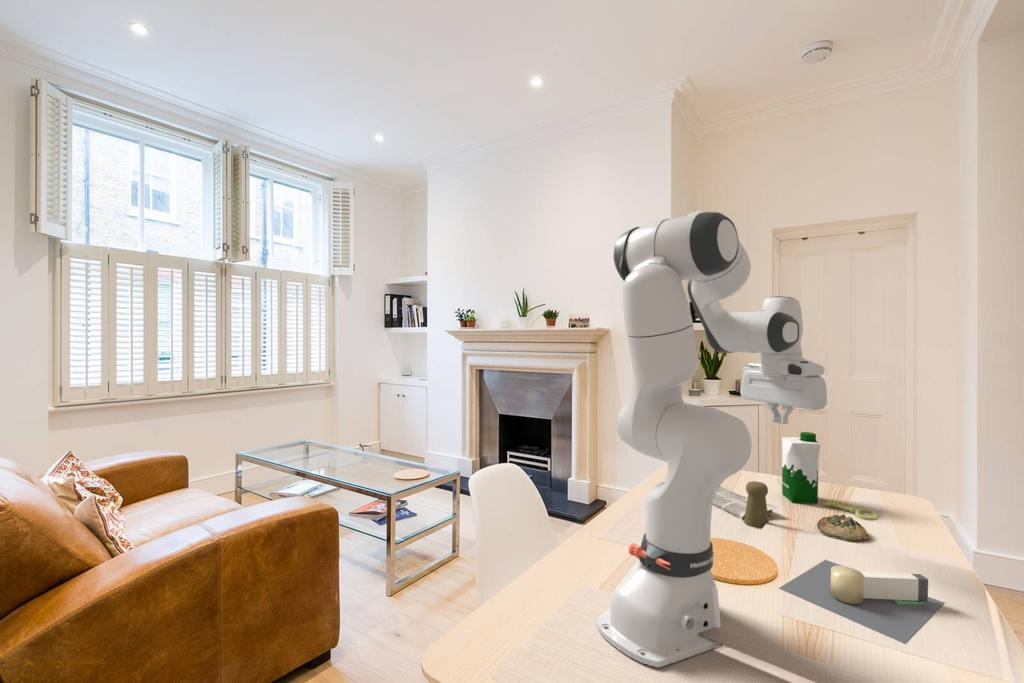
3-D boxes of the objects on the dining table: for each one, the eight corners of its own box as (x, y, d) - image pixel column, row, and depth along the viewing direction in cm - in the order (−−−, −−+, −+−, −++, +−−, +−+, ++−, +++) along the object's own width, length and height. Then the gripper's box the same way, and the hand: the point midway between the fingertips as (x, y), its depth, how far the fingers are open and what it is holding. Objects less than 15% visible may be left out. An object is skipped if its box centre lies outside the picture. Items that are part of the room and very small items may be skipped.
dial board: (905, 652, 78) (905, 641, 78) (778, 595, 94) (778, 586, 94) (945, 610, 89) (945, 600, 89) (825, 566, 106) (826, 557, 106)
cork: (772, 529, 125) (773, 487, 124) (747, 527, 126) (747, 485, 126) (765, 519, 131) (765, 479, 130) (741, 518, 132) (741, 478, 132)
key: (824, 506, 142) (824, 499, 142) (876, 515, 135) (877, 507, 135) (825, 514, 135) (825, 507, 135) (880, 524, 129) (880, 516, 129)
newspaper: (665, 483, 163) (665, 472, 163) (695, 479, 167) (696, 468, 167) (746, 523, 129) (746, 510, 129) (782, 517, 133) (782, 505, 133)
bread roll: (828, 520, 130) (831, 502, 130) (875, 541, 121) (879, 522, 120) (806, 531, 125) (809, 513, 124) (855, 554, 115) (858, 535, 114)
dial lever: (840, 603, 89) (840, 578, 88) (825, 588, 94) (825, 565, 93) (934, 607, 87) (934, 582, 87) (913, 592, 92) (914, 568, 92)
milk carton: (822, 505, 141) (824, 437, 140) (789, 503, 142) (790, 436, 142) (808, 494, 150) (809, 430, 149) (777, 493, 151) (778, 429, 150)
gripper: (734, 362, 124) (734, 416, 124) (813, 369, 105) (812, 432, 106) (752, 361, 126) (751, 414, 127) (831, 368, 108) (830, 429, 108)
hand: (779, 422), depth 116 cm, fingers closed
